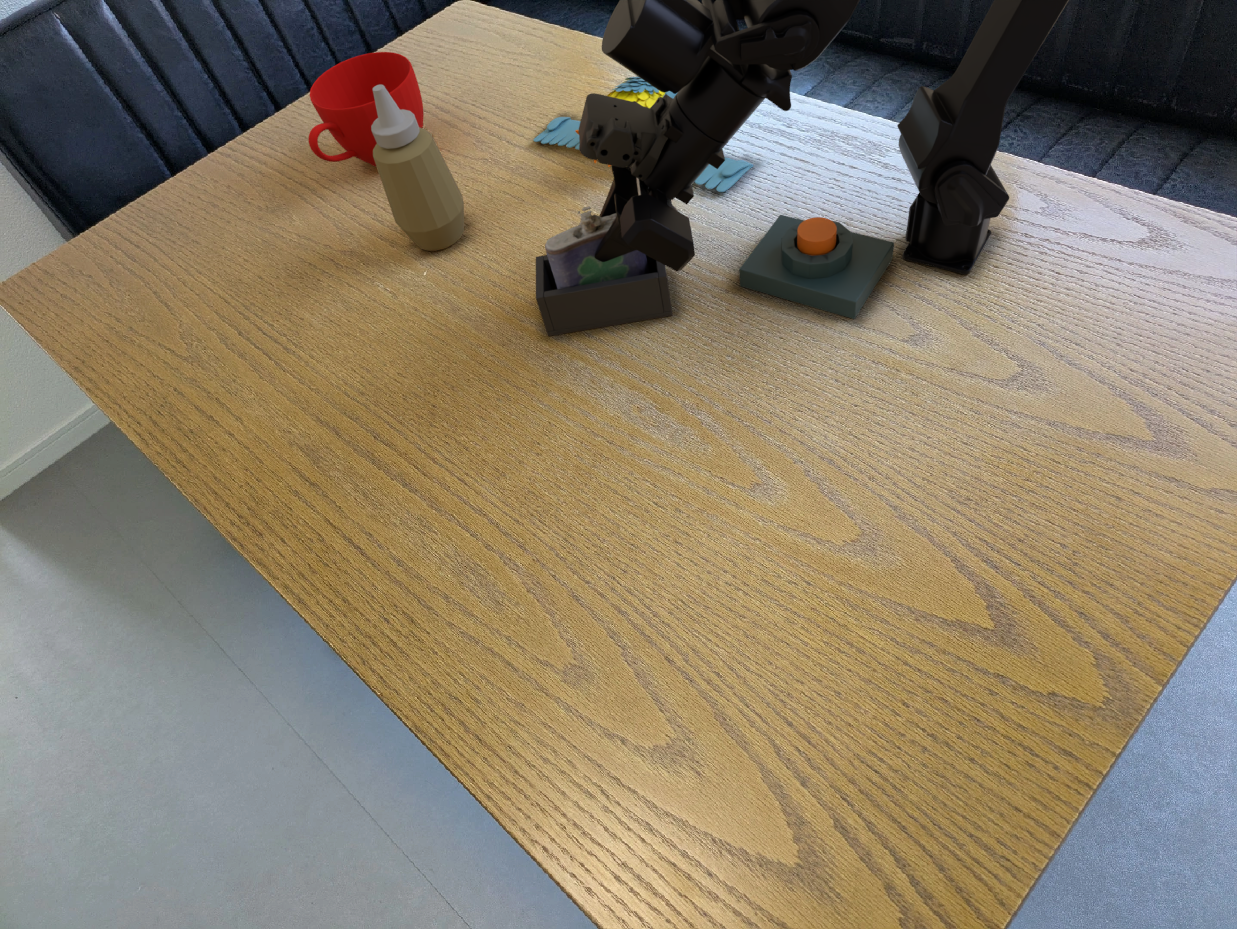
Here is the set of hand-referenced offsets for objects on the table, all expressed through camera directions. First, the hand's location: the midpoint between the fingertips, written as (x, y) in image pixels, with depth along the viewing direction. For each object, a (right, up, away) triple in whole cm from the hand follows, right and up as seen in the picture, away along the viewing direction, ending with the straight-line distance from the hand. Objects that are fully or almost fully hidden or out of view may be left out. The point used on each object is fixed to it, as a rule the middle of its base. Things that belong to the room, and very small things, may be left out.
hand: (597, 247), depth 77 cm
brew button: (+21, 0, +1) cm, 21 cm away
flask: (+1, -4, +5) cm, 7 cm away
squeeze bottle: (-19, +6, +18) cm, 26 cm away
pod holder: (+1, -4, +6) cm, 7 cm away
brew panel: (+21, -2, +3) cm, 22 cm away
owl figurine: (+5, +17, +21) cm, 28 cm away
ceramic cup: (-29, +19, +29) cm, 45 cm away
